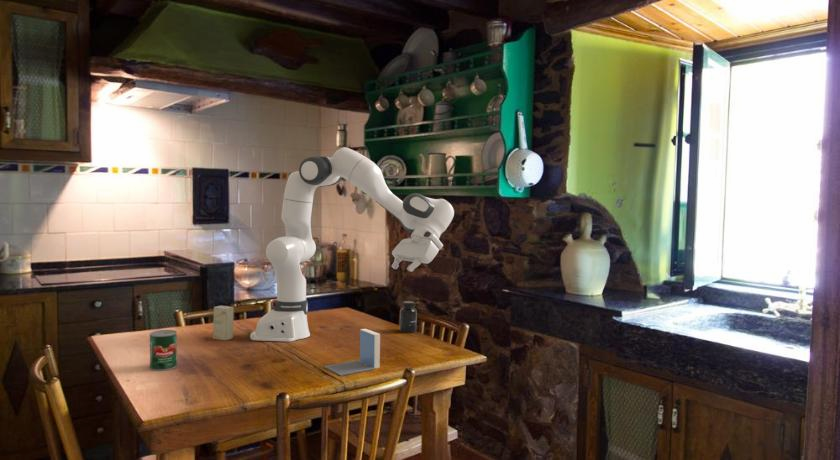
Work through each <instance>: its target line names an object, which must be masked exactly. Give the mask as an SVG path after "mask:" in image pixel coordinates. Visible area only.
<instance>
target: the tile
mask: <svg viewBox="0 0 840 460" xmlns="http://www.w3.org/2000/svg"><path fill="white" fill-rule="evenodd" d="M359 331H360V332H359V335H360V336H359V339H360V340H359V344H360V345H359V362H361V363H363V364H366V365H368V366H370V367H372V368H374V370H375V368H376V369H379V368H381V366H380V365H381V364H380V363H381V362H380V361H381V358H380V356H381V333H378V332H376V331H373V330H371V329H368V328H360V330H359Z"/></svg>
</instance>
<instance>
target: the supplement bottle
mask: <svg viewBox="0 0 840 460" xmlns="http://www.w3.org/2000/svg"><path fill="white" fill-rule="evenodd" d="M415 303H416V302H415V301H410V300H407V301H402V308H401V309H400V310H399V331H400V332H401V333H406V334H413V333H416V332H417V322H418V321H417V320H418V319H417V317H418V312H417V311H418V310H417V309H416V308H415V306H416V304H415Z"/></svg>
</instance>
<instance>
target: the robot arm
mask: <svg viewBox="0 0 840 460" xmlns="http://www.w3.org/2000/svg"><path fill="white" fill-rule="evenodd" d="M342 179H345V180H346V181H347V182H349V183H350V184H352V186H355V188H357V189H359V190H360V191H362V192H363V193H364V194H366V195H367V196H368V197H369V198H371V199H372V200H374V201H375V202H376V203H377V204H378V205H380V206H381V207H382V208H383V209H385V210H386V211H387V212H388V213H390V215H392V216H394V218H396V219H397V220H398V221H399V223H400V224H401V226H402V227H403V229H404V230H405V231H406V232H408V233H410V234H411V235H410V237H407V238H403V239H402V240H400V242H399V243H398V244H397V245H396V246H395V247H394V248H393V250H392V251H391V255H392V256H393V257H394V260H393V263H392V264H391V268H392V269H393V270H398V268H399V267H400V265H399V264H400V263H401V262H402V261H407V262H412V263H411V264H408V265H407V267H406V270H407V271H408V272H414V270H415V269H416V268H418V267H419V266H420V265H421V264H430V263H431V262H432V261H433V260H434V258H436V256H437V254H439V251H440V250H442V249H443V247H444V244H443V243H442V242H441V240H440V238H441V235H442V234H443V233H444V232H445V231H446V230H447V228H448V227H449V226H450V224H451V223H452V221H453V218H454V216H455V209H454V207H453V205H452V204H451V203H450V202H449V201H448V200H446V199H444V198H436V199H435V198H431V197H427V196H424V195H423V194H421V193H417V192H415V193H411V194H410V193H409V194H408V195H407V196H406V197H404V198H403V200H401V199H400V197H398V196H396V195H395V194H394V193H393V191H391V190H390V188H389V187H388V185H387V183H386V180H385V178H384V175H383V172H382V170H381V168H380V167H379V166H378V165H377V164H376V163H375V162H374V161H372V160H371V159H370V158H368V157H366V156H365V155H364V154H361V153H360V152H358V151H356V150H354V149H351V148H349V147H345V146H344V147H340V148H338V149H337V150H336V151H335V152H334V153H333V155H332V156H331V157H329V156H324V155H321V156H320V155H313V156H309V157H306V158H305V159H303V160H301V162H300V165H299V167H298V171H293V172H291V173H290V174H289V176H288V178H287V181H286V184H285V187H284V193H283V198H282V199H283V200H282V208H281V209H282V210H281V216H280V217H281V221H282V222H283V224H284V229H285V236H279V237H277V238H275V239H273V240H271V241H269V243H268V244H267V246H266V248H265V255H266V258H267V260H268V261H269V262H270V264H272V265H271V266H272V267H273V270H274V273H275V278H276V279H275V280H276V298H274V299H272V300H271V310H270V311H268V312H267V313H265V314H264V315H263V316H262V317H261V318H260V319H258V321H257V324H256V329H255V330H253V331H252V332H251V333H250V335H249V338H250V340H252V341H263V342H266V341H268V342H290V343H291V342H294V341H296V340H303V339H305V338H308V337H310V336H311V333H310V330H309V329H310V328H309V325H308V315H307V314H308V309H309V307H308V305H309V304H308V303H309V302H308V299H307V279H306V277H305V276H304V275H303V273H302V269H301V265H300V264H302V263H305V262H307V261H308V260H310V259H311V258H312V257H313V256H314V255H315V253H316V251H317V246H316V242H315V240H314V239H313V235H312V234H313V233H312V225H311V223H312V222H311V219H312V212H313V211H312V210H313V204H314V203H313V201H314V195H315V193H316V189H317V188H319V187H321V188H323V187H324V188H325V187H330V186H334V185H336V184H338V183H339V182H341V180H342Z"/></svg>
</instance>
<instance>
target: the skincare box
mask: <svg viewBox="0 0 840 460" xmlns="http://www.w3.org/2000/svg"><path fill="white" fill-rule="evenodd" d="M212 321H213V326H212V332H213V333H212V338H213V339H214V340H219V341H228V340H232V339H234V306H229V305H217V306H213V320H212Z"/></svg>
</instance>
